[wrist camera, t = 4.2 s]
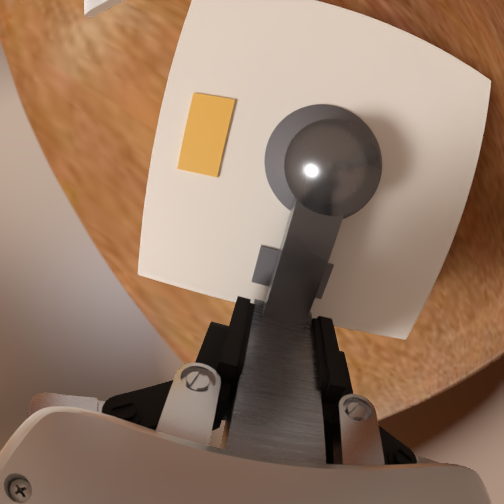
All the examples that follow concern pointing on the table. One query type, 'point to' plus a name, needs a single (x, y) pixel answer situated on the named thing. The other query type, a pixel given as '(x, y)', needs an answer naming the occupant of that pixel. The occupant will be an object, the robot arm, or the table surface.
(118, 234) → the table surface
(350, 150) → the key crank
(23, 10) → the table surface
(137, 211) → the table surface
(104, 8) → the external hard drive
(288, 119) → the box
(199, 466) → the robot arm
